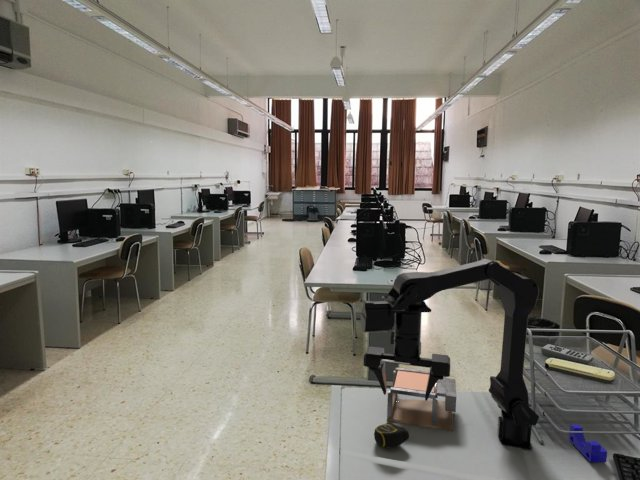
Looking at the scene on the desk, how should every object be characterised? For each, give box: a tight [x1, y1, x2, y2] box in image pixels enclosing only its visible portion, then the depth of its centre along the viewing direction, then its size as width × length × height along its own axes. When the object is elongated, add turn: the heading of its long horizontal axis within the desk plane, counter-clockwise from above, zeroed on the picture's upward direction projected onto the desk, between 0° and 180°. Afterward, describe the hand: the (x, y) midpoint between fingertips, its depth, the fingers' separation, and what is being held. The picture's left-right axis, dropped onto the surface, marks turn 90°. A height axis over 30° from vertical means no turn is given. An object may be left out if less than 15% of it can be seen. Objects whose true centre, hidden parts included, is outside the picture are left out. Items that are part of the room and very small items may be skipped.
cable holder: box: [568, 424, 608, 463], centre depth 97 cm, size 8×4×4 cm, turn 0°
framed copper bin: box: [386, 367, 454, 432], centre depth 113 cm, size 16×14×8 cm
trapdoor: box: [394, 371, 457, 413], centre depth 112 cm, size 15×10×5 cm, turn 74°
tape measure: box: [373, 421, 410, 449], centre depth 98 cm, size 7×7×4 cm
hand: (405, 396), depth 97 cm, fingers open, 9 cm apart
